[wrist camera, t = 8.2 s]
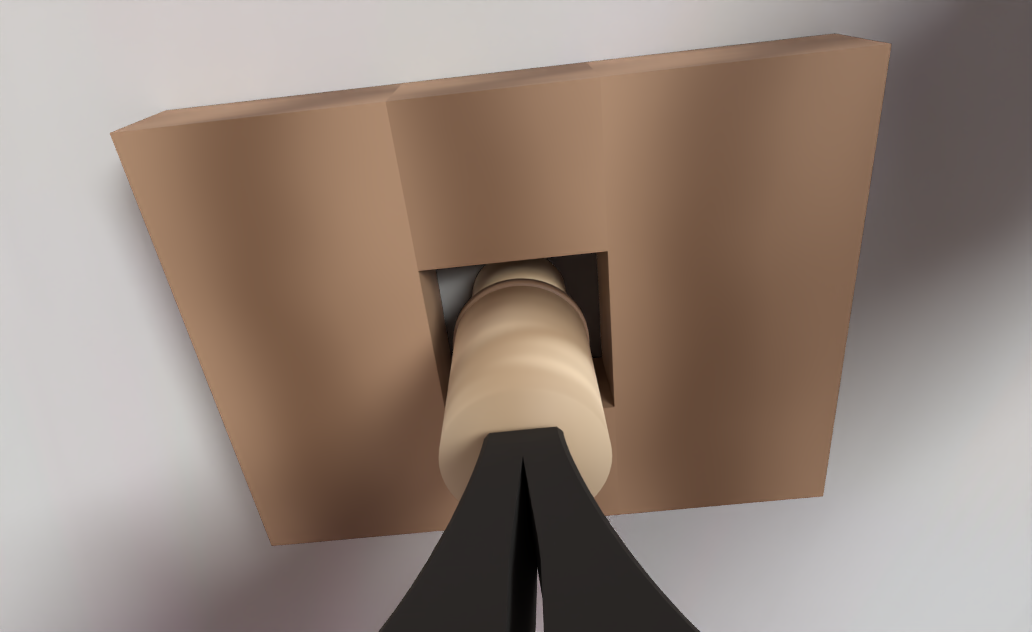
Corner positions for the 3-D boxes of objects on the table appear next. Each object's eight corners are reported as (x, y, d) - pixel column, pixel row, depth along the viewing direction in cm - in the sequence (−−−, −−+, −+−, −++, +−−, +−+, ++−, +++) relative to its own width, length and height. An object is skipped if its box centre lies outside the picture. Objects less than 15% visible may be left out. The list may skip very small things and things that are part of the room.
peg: (576, 234, 17) (614, 380, 11) (579, 341, 19) (615, 520, 13) (453, 244, 17) (423, 393, 11) (467, 349, 19) (447, 532, 13)
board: (834, 33, 15) (891, 43, 13) (788, 440, 21) (822, 496, 19) (165, 110, 16) (109, 133, 14) (296, 486, 21) (271, 545, 19)
